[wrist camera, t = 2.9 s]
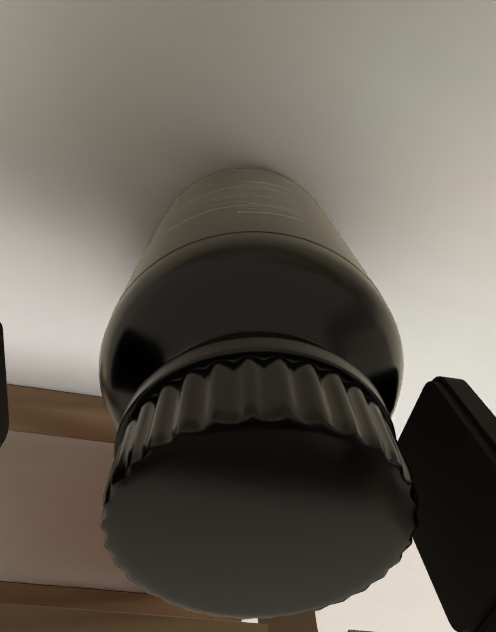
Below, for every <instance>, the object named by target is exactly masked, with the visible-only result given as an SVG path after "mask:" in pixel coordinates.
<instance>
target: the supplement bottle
mask: <svg viewBox="0 0 496 632" xmlns="http://www.w3.org/2000/svg"><path fill="white" fill-rule="evenodd" d="M403 366H404V364H403V350H402V344H401V339H400V335H399V331H398V328H397V325H396V323H395V320H394V318H393V316H392V314H391V312H390V310H389V308H388V306H387V304H386V302H385V301H384V299H383V297H382V296H381V294H380V292H379V291H378V289H377V288H376V286H375V285H374V283H373V282H372V280H371V279H370V278H369V276H368V275H367V273H366V272H365V270H364V269H363V267H362V266H361V265H360V263H359V262H358V260H357V259H356V257H355V256H354V255H353V253H352V252H351V250H350V249H349V247H348V246H347V245H346V243H345V242H344V240H343V239H342V237H341V236H340V234H339V233H338V232H337V230H336V229H335V227H334V226H333V224H332V223H331V222H330V220H329V219H328V217H327V216H326V214H325V213H324V212H323V210H322V209H321V208H320V206H319V205H318V204H317V203H316V201H315V200H314V199H313V198H312V197H311V196H310V195H309V194H308V193H307V192H306V191H305V190H304V189H302V188H301V187H300V186H298V185H297V184H295V183H294V182H293V181H291V180H289V179H287V178H285V177H283V176H281V175H278V174H276V173H273V172H269V171H266V170H260V169H252V168H237V169H229V170H225V171H220V172H217V173H214V174H211V175H209V176H207V177H205V178H202V179H201V180H199V181H197V182H196V183H194V184H193V185H191V186H190V187H189V188H187V189H186V190H185V191H184V192H183V193H182V194H181V195H180V196H179V197H178V198H177V199H176V200H175V201H174V202H173V204H172V205H171V206H170V208H169V209H168V211H167V212H166V214H165V216H164V217H163V219H162V221H161V223H160V224H159V226H158V228H157V230H156V232H155V234H154V236H153V237H152V239H151V241H150V243H149V245H148V247H147V249H146V251H145V252H144V254H143V256H142V258H141V260H140V262H139V264H138V266H137V267H136V269H135V271H134V273H133V275H132V277H131V279H130V281H129V282H128V284H127V286H126V288H125V290H124V292H123V294H122V296H121V298H120V299H119V301H118V303H117V305H116V307H115V309H114V311H113V314H112V316H111V319H110V321H109V323H108V326H107V328H106V331H105V334H104V338H103V341H102V345H101V351H100V358H99V379H100V388H101V392H102V397H103V401H104V404H105V407H106V410H107V413H108V415H109V418H110V420H111V422H112V424H113V426H114V428H115V430H116V431H117V435H116V439H115V445H114V462H113V465H112V468H111V471H110V474H109V478H108V481H107V484H106V487H105V491H104V495H103V509H102V513H101V518H100V527H101V529H102V531H103V532H104V533H105V540H104V546H105V547H106V548H107V549H108V550H109V551H110V552H111V553H112V554H113V555H114V558H113V560H114V564H115V565H117V566H118V567H119V568H121V569H122V570H124V571H125V572H126V575H127V577H128V579H129V580H130V581H132V582H134V583H136V584H138V585H140V586H142V588H143V589H144V590H145V592H146V593H148V594H151V595H154V596H157V597H159V598H161V599H162V600H164V601H165V602H166V603H167V604H171V605H175V606H180V607H183V608H185V609H186V610H188V611H190V612H196V613H206V614H208V615H211V616H214V617H232V618H237V619H242V620H243V619H251V618H260V619H271V618H276V617H280V616H296V615H299V614H301V613H304V612H310V611H317V610H321V609H323V608H325V607H327V606H328V605H332V604H336V603H340V602H343V601H345V600H346V599H348V598H349V597H350V596H352V595H354V594H357V593H360V592H363V591H365V590H366V589H367V588H368V587H369V586H370V585H371V584H372V583H374V582H375V581H377V580H380V579H381V578H383V577H385V575H386V573H387V572H388V570H389V569H390V568H391V567H393V566H394V565H396V564H397V563H399V562H400V560H401V557H402V553H403V552H404V551H405V550H406V549H407V548H408V547H409V546H410V545H411V544H412V534H413V532H414V531H415V530H416V528H417V526H418V525H419V522H418V516H417V513H416V512H417V510H418V506H419V499H418V495H417V492H416V489H415V487H414V484H413V478H412V474H411V471H410V468H409V466H408V464H407V462H406V459H405V457H404V455H403V453H402V451H401V448H400V446H399V444H398V442H397V440H396V434H395V429H394V426H393V423H392V420H391V418H392V415H393V413H394V411H395V408H396V405H397V402H398V399H399V395H400V391H401V385H402V380H403Z"/></svg>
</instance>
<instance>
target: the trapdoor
mask: <svg viewBox="0 0 496 632" xmlns="http://www.w3.org/2000/svg"><path fill="white" fill-rule="evenodd" d="M348 632H371V631H358V630H348Z"/></svg>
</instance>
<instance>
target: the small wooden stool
mask: <svg viewBox="0 0 496 632" xmlns="http://www.w3.org/2000/svg"><path fill="white" fill-rule="evenodd" d="M7 396H8V411H9V430H11V431H19V432H28V433H36V434H44V435H52V436H60V437H68V438H76V439H84V440H92V441H100V442H108V443H115V439H116V435H117V431H116V430H115V428H114V426H113V424H112V422H111V420H110V418H109V415H108V413H107V410H106V407H105V404H104V401H103V397H97V396H89V395H82V394H75V393H67V392H60V391H53V390H45V389H38V388H31V387H23V386H16V385H9V384H7ZM0 632H318V630H317V623H316V617H315V611H310V612H304V613H301V614H299V615H296V616H280V617H276V618H271V619H260V618H258V623H246V622H241V619H237V618H232V617H214V616H211V615H208V614H206V613H196V612H190V611H188V610H186V609H185V608H183V607H180V606H175V605H171V604H167V603H166V602H165V601H164V600H162V599H161V598H159V597H157V596H154V595H151V594H142V593H130V592H118V591H106V590H94V589H82V588H70V587H58V586H46V585H34V584H22V583H10V582H0Z"/></svg>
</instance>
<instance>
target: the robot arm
mask: <svg viewBox="0 0 496 632" xmlns="http://www.w3.org/2000/svg"><path fill="white" fill-rule="evenodd" d="M8 430H9V411H8V396H7V382H6V368H5V353H4V339H3V327H2V324H1V323H0V447H1V446H2V444H3V442H4V441H5V439H6V436H7V433H8ZM398 444H399V446H400V448H401V451H402V453H403V455H404V457H405V459H406V462H407V464H408V466H409V468H410V471H411V474H412V478H413V484H414V487H415V489H416V492H417V495H418V499H419V506H418V510H417V512H416V513H417V516H418V522H419V525H418V526H417V528H416V530H415V531H414V532H413V534H412V537H413V540H414V542H415V544H416V546H417V549H418V551H419V553H420V556H421V558H422V560H423V563H424V565H425V567H426V570H427V572H428V574H429V577H430V579H431V581H432V584H433V586H434V588H435V591H436V593H437V595H438V597H439V600H440V602H441V604H442V607H443V609H444V611H445V614H446V616H447V618H448V621H449V623H450V624H451V626H452V627H453V629H454V630H455V631H457V632H496V417H495V416H494V414H493V413H492V412H491V411H490V410H489V409H488V407H487V406H486V405H485V404H484V403H483V401H482V400H481V399H480V398H479V397H478V396H477V394H476V393H475V392H474V391H473V390H472V388H471V387H470V386H469V385H468V384H467V383H466V382H465V381H464V380H461V379H455V378H448V377H441V376H438V377H435V378H434V379H433V380H432V381H430V382H427V383H426V384H425V386H424V388H423V390H422V392H421V394H420V396H419V398H418V400H417V402H416V404H415V406H414V409H413V411H412V413H411V415H410V417H409V419H408V421H407V423H406V425H405V427H404V429H403V431H402V433H401V435H400V438H399V440H398Z"/></svg>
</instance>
